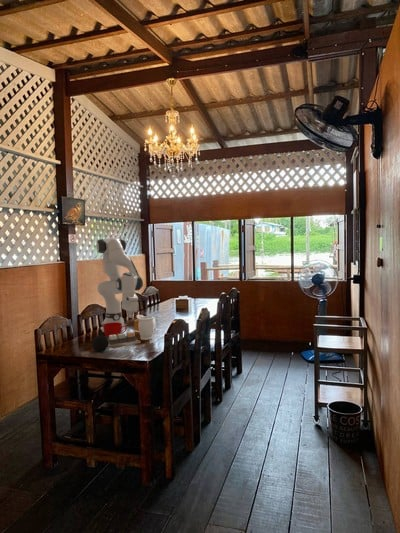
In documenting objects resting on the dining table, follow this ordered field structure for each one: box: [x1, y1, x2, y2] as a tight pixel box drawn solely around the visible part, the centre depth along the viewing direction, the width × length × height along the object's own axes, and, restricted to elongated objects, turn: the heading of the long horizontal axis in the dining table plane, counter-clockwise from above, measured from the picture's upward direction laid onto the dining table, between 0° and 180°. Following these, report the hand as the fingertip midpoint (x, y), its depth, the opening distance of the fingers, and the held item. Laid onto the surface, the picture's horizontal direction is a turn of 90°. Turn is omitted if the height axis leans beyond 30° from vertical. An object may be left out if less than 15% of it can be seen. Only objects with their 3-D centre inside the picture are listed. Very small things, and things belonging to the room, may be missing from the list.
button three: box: [125, 331, 135, 337], centre depth 264 cm, size 4×4×3 cm
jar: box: [137, 315, 155, 341], centre depth 273 cm, size 11×10×15 cm
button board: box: [107, 335, 142, 349], centre depth 261 cm, size 11×22×4 cm, turn 122°
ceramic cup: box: [102, 322, 128, 339], centre depth 277 cm, size 13×17×10 cm
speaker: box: [91, 335, 108, 352], centre depth 243 cm, size 10×10×10 cm
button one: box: [109, 335, 117, 340], centre depth 257 cm, size 4×4×3 cm
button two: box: [118, 332, 126, 339], centre depth 260 cm, size 4×4×3 cm
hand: (129, 317), depth 263 cm, fingers closed
